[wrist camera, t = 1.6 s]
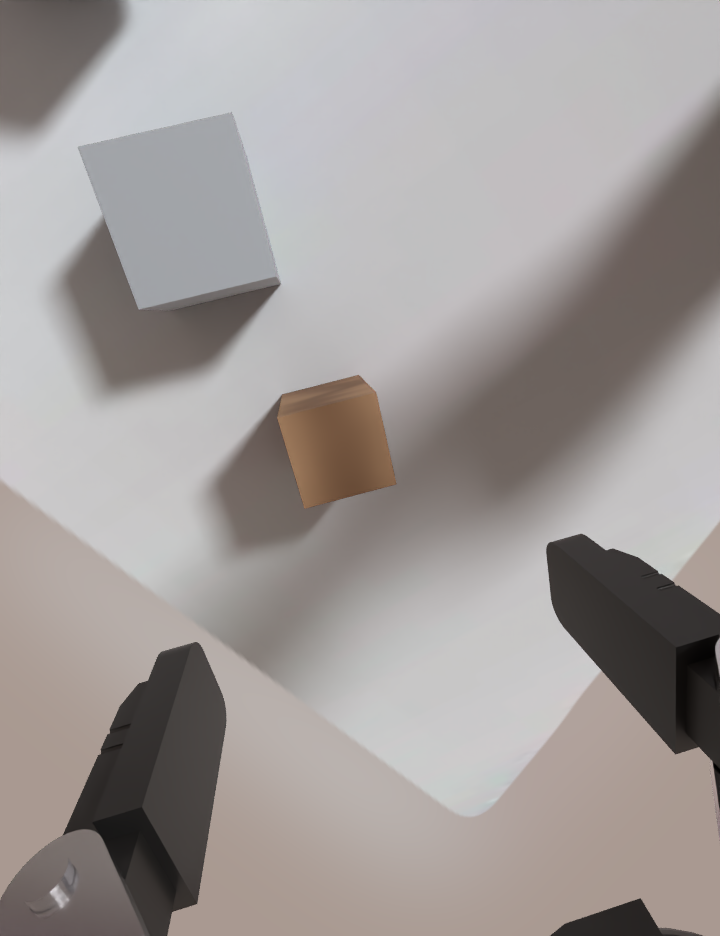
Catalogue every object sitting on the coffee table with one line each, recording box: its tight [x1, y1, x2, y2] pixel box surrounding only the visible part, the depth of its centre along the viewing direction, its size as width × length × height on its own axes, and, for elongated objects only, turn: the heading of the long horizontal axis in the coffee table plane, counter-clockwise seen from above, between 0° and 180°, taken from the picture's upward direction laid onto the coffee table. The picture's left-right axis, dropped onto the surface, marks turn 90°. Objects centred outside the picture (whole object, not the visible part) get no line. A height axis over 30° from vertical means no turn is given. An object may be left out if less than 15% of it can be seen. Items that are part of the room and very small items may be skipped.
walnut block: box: [277, 375, 396, 509], centre depth 27 cm, size 5×5×7 cm
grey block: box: [78, 112, 281, 310], centre depth 23 cm, size 6×6×6 cm
